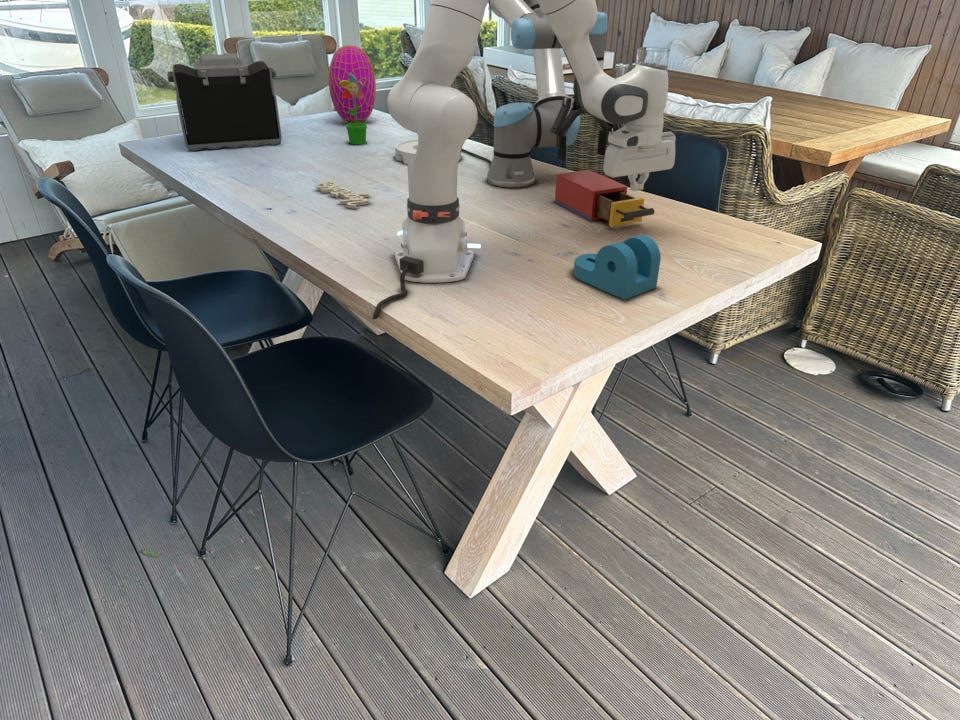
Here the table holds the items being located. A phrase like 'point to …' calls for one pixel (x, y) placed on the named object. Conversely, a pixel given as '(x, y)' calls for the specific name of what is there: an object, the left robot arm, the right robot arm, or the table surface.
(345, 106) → the decorative egg
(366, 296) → the table surface
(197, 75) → the electronic device
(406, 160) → the ashtray
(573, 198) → the red case
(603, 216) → the drawer
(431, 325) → the table surface
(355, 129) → the potted flower
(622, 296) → the camera mount
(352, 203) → the decorative sign
